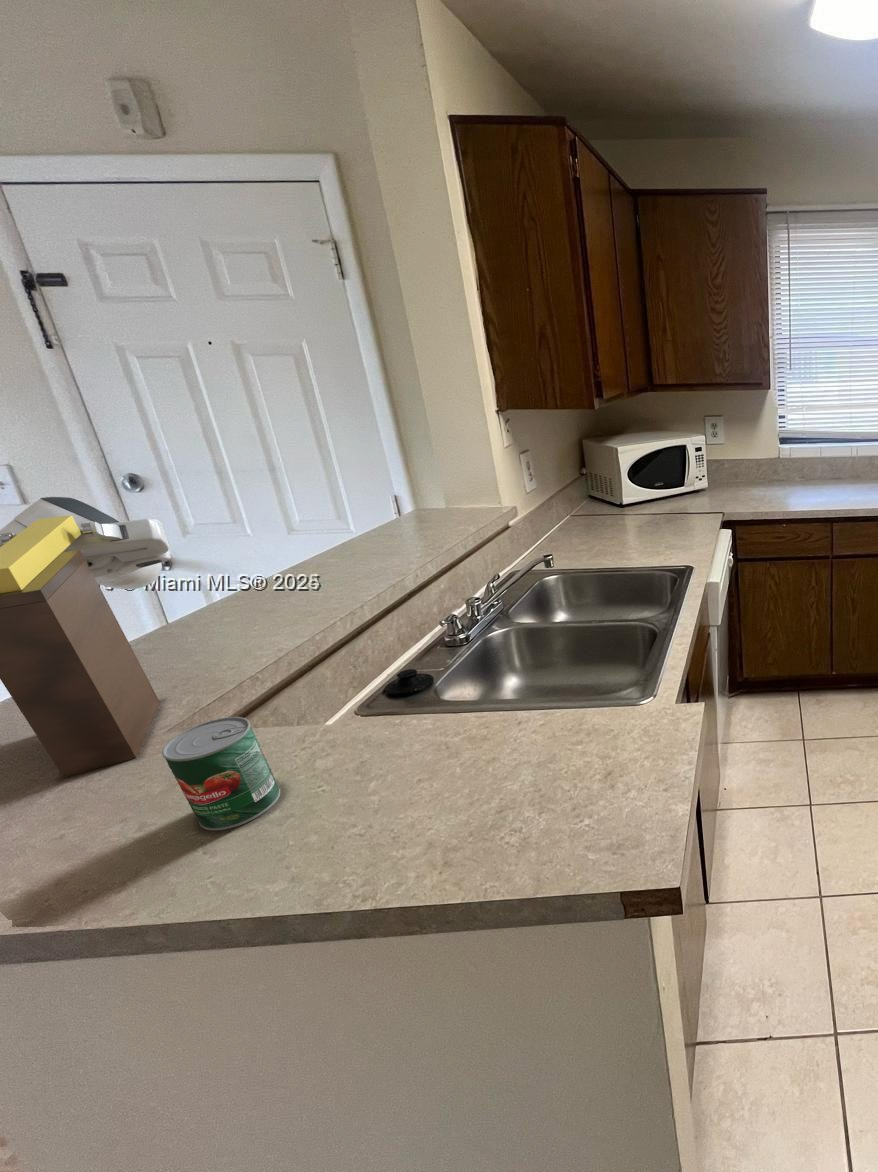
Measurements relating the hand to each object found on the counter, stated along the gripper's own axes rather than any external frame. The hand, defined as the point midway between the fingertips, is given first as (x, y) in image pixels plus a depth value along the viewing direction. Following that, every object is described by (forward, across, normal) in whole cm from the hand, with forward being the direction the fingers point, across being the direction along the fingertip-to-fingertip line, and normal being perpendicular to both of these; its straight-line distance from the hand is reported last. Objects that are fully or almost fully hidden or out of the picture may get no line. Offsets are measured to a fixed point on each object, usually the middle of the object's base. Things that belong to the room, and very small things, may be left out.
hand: (47, 533), depth 87 cm
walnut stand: (-3, 0, +30) cm, 30 cm away
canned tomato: (+21, +17, +44) cm, 52 cm away
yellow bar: (+5, 0, +5) cm, 7 cm away
